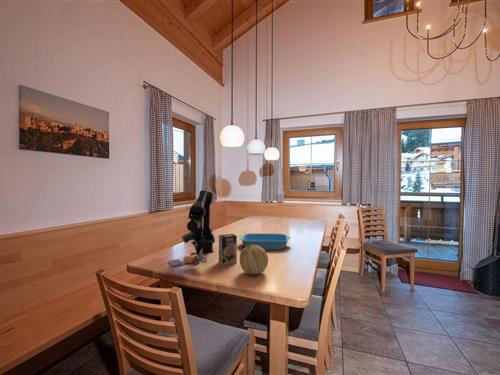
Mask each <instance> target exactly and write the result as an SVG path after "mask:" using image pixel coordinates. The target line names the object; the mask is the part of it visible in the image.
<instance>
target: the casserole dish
mask: <svg viewBox="0 0 500 375" xmlns="http://www.w3.org/2000/svg"><path fill="white" fill-rule="evenodd" d="M290 239H291V237H290V236H289V235H287V234H284V233H262V232H261V233H244V234H243V235H239V240H241V242H242V246H243V247H244V248H246V247H248V245H249V246H250V245H258V246H261V247H262V248H263V249H264V250H283V249H284V248H285V247H286V246H287V244H288V240H290Z"/></svg>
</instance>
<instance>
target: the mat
mask: <svg viewBox="0 0 500 375" xmlns="http://www.w3.org/2000/svg"><path fill="white" fill-rule="evenodd" d="M168 263H169V265H170V266H171V268H177V267H181V266H184V262H182V261H181V259H180V258H177V259H172V260H168Z"/></svg>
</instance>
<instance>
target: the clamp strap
mask: <svg viewBox="0 0 500 375" xmlns="http://www.w3.org/2000/svg"><path fill="white" fill-rule="evenodd" d="M196 258H197V259H198V260H199V263H201V264H207V263H208V262H207V261H208V259H207V257H206V256H205V255H204V254H202V252H200V253H197V254H196Z"/></svg>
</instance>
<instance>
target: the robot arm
mask: <svg viewBox="0 0 500 375" xmlns="http://www.w3.org/2000/svg"><path fill="white" fill-rule="evenodd" d="M214 197H215V196H214V193H213V192H211V191H209V190H200V191H199V194H198V197H197V200H196V202H195V203H193V204H192V205H191V206H190V208H189V212H188V216H187V219H189V220H190V221H188V222H187V224H186V227H187V230H188V231H189V232H188V233H186V234H183V235H182V236H181V239H182V241H183V243H185V244H186V243H189V242H190V243H191V245H193V247H194V249H195V251H194V252H195V253H196V254H197V253H204V254H210V253H214V252H215V251H214V249H213V248H214V247H213V246H214V243H215V235H214V233H213V232H214V231H213V230H212V228H211V205H212V203H213V202H214Z"/></svg>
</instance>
